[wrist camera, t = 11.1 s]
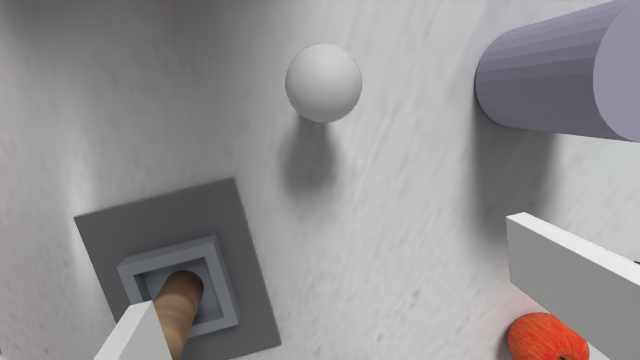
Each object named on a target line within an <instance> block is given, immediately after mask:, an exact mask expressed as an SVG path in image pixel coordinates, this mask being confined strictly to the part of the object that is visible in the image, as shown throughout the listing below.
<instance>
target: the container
mask: <svg viewBox="0 0 640 360" xmlns="http://www.w3.org/2000/svg"><path fill="white" fill-rule="evenodd" d="M475 84H476V94H477V98H478V101H479V104H480V106H481V108H482V110H483V111H484V112H485V113H486V115H487V116H488V117H489V118H490V119H492V120H493V121H494V122H496V123H498V124H500V125H502V126H506V127H510V128H518V129H527V130H535V131H544V132H553V133H561V134H570V135H579V136H587V137H596V138H604V139H613V140H622V141H630V142H639V143H640V0H614V1H611V2H608V3H604V4H601V5H597V6H594V7H590V8H587V9H583V10H580V11H577V12H573V13H570V14H566V15H563V16H559V17H556V18H552V19H549V20H545V21H542V22H539V23H535V24H532V25H528V26H525V27H521V28H518V29H514V30H512V31H509V32H507V33H505V34H503V35H502V36H500V37H498V38H497V39H496V40H495V41H494V42H493V43H492V44H491V45H490V46H489V47H488V49H487V50H486V51H485V53H484V54H483V56H482V58H481V60H480V62H479V66H478V69H477V72H476V81H475Z"/></svg>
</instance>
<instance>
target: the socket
mask: <svg viewBox="0 0 640 360" xmlns="http://www.w3.org/2000/svg"><path fill="white" fill-rule="evenodd" d="M74 220H75V223H76V225H77V228H78V230H79V233H80V235H81V237H82V240H83V242H84V245H85V247H86V250H87V252H88V255H89V257H90V260H91V262H92V264H93V267H94V269H95V272H96V274H97V277H98V279H99V282H100V284H101V287H102V289H103V292H104V294H105V296H106V299H107V301H108V304H109V306H110V309H111V311H112V314H113V316H114V319H115V321H116V324H117V323H118V322H119V320H120V319H121V318H122V316H123V315H124V313H125V312H126V310H127V309H128V307H129V306H130V305H134V304H138V303H143V302H147V301H151V300H152V302H154V300H155V299H156V297H157V295H158V293H159V292H160V290H161V288H162V287H163V285H164V283H165V281H166V280H167V278H168V277H169V276H170V275H171V274H173V273H174V272H177V271H180V270H188V271H192V272H194V273H196V274H197V275H198V276H199V277H200V278H201V279H202V281H203V284H204V292H203V295H202V297H201V300H200V303H199V306H198V309H197V311H196V314H195V317H194V320H193V323H192V326H191V328H190V331H189V334H188V337H187V340H186V343H185V345H184V348H183V351H182V354H181V357H180V359H179V360H227V359H230V358H234V357H238V356H241V355H245V354H248V353H252V352H255V351H259V350H262V349H266V348H270V347H273V346H277V345H280V344H281V338H280V335H279V331H278V328H277V324H276V321H275V317H274V314H273V310H272V307H271V304H270V300H269V297H268V293H267V290H266V286H265V283H264V279H263V276H262V272H261V269H260V265H259V262H258V258H257V255H256V251H255V248H254V244H253V241H252V237H251V234H250V230H249V227H248V223H247V220H246V217H245V213H244V210H243V206H242V203H241V199H240V196H239V192H238V189H237V185H236V182H235V178H234V177H233V178H229V179H225V180H221V181H217V182H213V183H208V184H204V185H200V186H196V187H192V188H188V189H184V190H180V191H176V192H172V193H168V194H163V195H159V196H155V197H151V198H147V199H143V200H139V201H135V202H131V203H127V204H122V205H118V206H114V207H110V208H106V209H102V210H98V211H94V212H90V213H86V214H82V215H77V216H75V217H74Z"/></svg>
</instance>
